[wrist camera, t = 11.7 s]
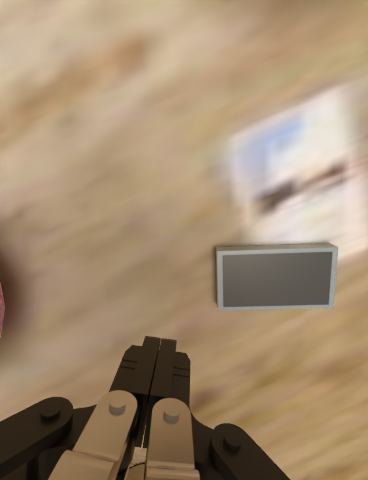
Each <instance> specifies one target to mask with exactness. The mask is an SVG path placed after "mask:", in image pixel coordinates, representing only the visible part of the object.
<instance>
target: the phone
mask: <svg viewBox="0 0 368 480" xmlns="http://www.w3.org/2000/svg"><path fill="white" fill-rule="evenodd" d="M337 257H338V247H337V246H334V245H332V244H330V243H316V244H286V245H255V246H225V247H216V288H217V307H218V311H229V310H273V309H317V308H334V296H335V283H336V270H337Z"/></svg>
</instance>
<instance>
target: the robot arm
mask: <svg viewBox="0 0 368 480" xmlns="http://www.w3.org/2000/svg"><path fill="white" fill-rule="evenodd" d="M160 339H161V338H157V337H150V336H145V339H144V342H143V345H142V346H135V345H132V346H131V347H130V348H129V349H127V350H126V351H125V353H124V356H123V358H122V361H121V363H120V366H119V368H118V371H117V373H116V376H115V378H114V381H113V383H112V385H111V388H110V390H109V393H107V394H105V395H104V396H103V397H102V398H101V399H100V400H99V402H98V404H96V405H93V406H90V407H86V408H78V409H73V406H72V404H71V402H70V401H69V400H67V399H65V398H62V397H51V398H47V399H44V400H42V401H40V402H38V403H36V404H34V405H32V406H30V407H28V408H26V409H24V410H22V411H20V412H18V413H16V414H14V415H12V416H10V417H9V418H7V419H5V420H3V421H1V422H0V480H290V479H289V478H288V477H287V476H286V475H285V473H284V472H283V471H282V470H281V469H280V468H279V467H278V466H277V465H276V464H275V463H274V462H273V461H272V460H271V459H270V458H269V456H268V455H267V454H266V453H265V452H264V451H263V450H262V449H261V448H260V447H259V446H258V445H257V444H256V443H255V442H254V440H253V439H252V438H251V437H250V436H249V435H248V434H247V433H246V432H245V431H244V430H243V429H241V428H240V427H238V426H236V425H233V424H228V423H224V424H220V425H218V426H216V427H215V428H214V430H213V429H211V428H209V427H207V426H205V425H203V424H201V423H200V422H198V421H197V420H196V419H195V418H194V416H193V415H192V413H191V411H190V407H189V395H190V359H189V358H188V356H187V354H186V353H182V352H175V350H176V341H177V340H171V339H164V338H162V340H161V344H160ZM159 347H160V349H159ZM145 425H146V428H145ZM144 430H145V435H144ZM143 435H144V442H143V448H147V453H146V460H145V464H141V465H137V466H134V467H132V468H131V469H129V468H130V463H131V461H132V458H133V454H134V449H135V447H141V445H142V440H143Z"/></svg>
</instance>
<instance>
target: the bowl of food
mask: <svg viewBox="0 0 368 480" xmlns="http://www.w3.org/2000/svg"><path fill="white" fill-rule="evenodd" d="M4 314H5V302H4V297H3V292H2V287H1V283H0V338H1V334H2V328H3V321H4Z"/></svg>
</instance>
